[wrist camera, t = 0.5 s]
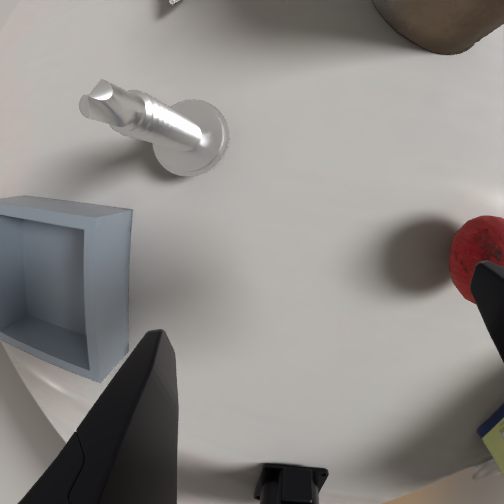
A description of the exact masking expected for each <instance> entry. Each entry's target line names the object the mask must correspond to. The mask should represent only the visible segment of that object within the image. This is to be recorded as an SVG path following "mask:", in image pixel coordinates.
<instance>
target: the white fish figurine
mask: <svg viewBox="0 0 504 504" xmlns="http://www.w3.org/2000/svg"><path fill="white" fill-rule="evenodd" d="M178 1H179V0H169V3H170V4H172V5H173V4H175V3H176V2H178Z"/></svg>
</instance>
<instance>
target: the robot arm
mask: <svg viewBox="0 0 504 504" xmlns="http://www.w3.org/2000/svg"><path fill="white" fill-rule="evenodd" d="M470 291H471V294H472V296H473V298H474V300H475V302H476V304H477V307H478V309H479V311H480V313H481V316H482V318H483V320H484V323H485V325H486V327H487V330H488V332H489V334H490V336H491V338H492V340H493V342H494V344H495V346H496V348H497V350H498V352H499V354H500V356H501V358H502V360H503V362H504V267H502V266H500V265H497V264H495V263H493V262H491V261H482V262H479V263H477V264H476V266H475V269H474V272H473V276H472V279H471V283H470ZM178 413H179V407H178V391H177V376H176V358H175V352H174V349H173V347H172V345H171V343H170V341H169V339H168V337H167V335H166V333H165V331H164V330H162V329H159V330H151V331H148V332H147V333H146V334H145V335H144V337H143V338H142V339H141V341H140V342H139V344H138V345H137V346H136V348H135V349H134V350H133V352H132V353H131V354H130V356H129V357H128V358H127V360H126V361H125V362H124V364H123V365H122V367H121V368H120V369H119V371H118V372H117V373H116V375H115V376H114V377H113V379H112V380H111V382H110V383H109V384H108V386H107V387H106V389H105V390H104V391H103V393H102V394H101V395H100V397H99V398H98V400H97V401H96V402H95V404H94V405H93V407H92V408H91V409H90V411H89V412H88V414H87V415H86V417H85V418H84V419H83V421H82V422H81V424H80V425H79V427H78V428H77V430H76V431H77V432H74V434H73V435H72V436H71V438H70V439H69V441H68V442H67V444H66V445H65V446H64V448H63V449H62V450H61V452H60V453H59V455H58V456H57V457H56V459H55V460H54V461H53V462H52V464H51V465H50V466H49V467H48V469H47V470H46V471H45V472H44V474H43V475H42V476H41V477H40V478H39V480H38V481H37V482H36V483H35V484H34V485H33V487H32V488H31V489H30V490H29V491H28V493H27V494H26V495H25V496H24V497H23V499H22V500H21V501H20V502H19V503H18V504H177V442H178ZM328 474H329V473H328V470H327V469H314V468H301V467H290V466H281V465H272V464H265V465H263V467H262V470H261V474H260V477H259V480H258V483H257V487H256V490H255V493H254V499H257V500H260V504H319V497H318V493H319V491H320V490H321V488H322V486H323V484H324V482H325V480H326V479H327V477H328Z"/></svg>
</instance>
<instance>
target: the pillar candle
mask: <svg viewBox="0 0 504 504" xmlns="http://www.w3.org/2000/svg"><path fill="white" fill-rule="evenodd" d="M373 2H374V4H375V6H376V8H377V9H378V11H379V12H380V14H381V15H382V16H383V17H384V19H385V20H386V21H387V22H388V23H389V24H390V25H391V26H392V27H393V28H394V29H395V30H397V32H399V33H400V34H402V35H403V36H404V37H405V38H407V39H409V40H410V41H412V42H414V43H416V44H417V45H419V46H421V47H423V48H425V49H427V50H429V51H432V52H435V53H439V54H444V55H454V54H455V53H456V54H460V53H463V52H465V51H467V50H468V49H470V48H471V47H472V46H473V45H474V44H475V43H476V42H478V41H480V39H482V38H483V37H484V36H487V35H488V34H489V33H491V32H493V31H494V30H495V29H497V28H498V27H500V26H501V25H503V24H504V0H373Z"/></svg>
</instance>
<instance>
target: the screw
mask: <svg viewBox="0 0 504 504" xmlns="http://www.w3.org/2000/svg"><path fill="white" fill-rule="evenodd" d="M79 109H80V112H81V113H82V115H83V116H85V117H86V118H89V119H93V120H97V121H100V122H104V123H108V124H109V125H110V127H111V128H112V129H113V130H115V131H116V132H119V133H120V134H122V135H124V136H129V137H131V138H136V139H138V140H143V141H147V142H150V143H153V150H154V153H155V156H156V158H157V159H158V161H159V163H160V164H161V165H162V166H163V167H164V168H165V169H166V170H168V171H170V172H171V173H173V174H176V175H179V176H187V177H191V176H198V175H201V174H204V173H206V172H208V171H210V170H211V169H213V168H214V167H215V166H216V165H217V164H218V163H219V162H220V161H221V160H222V158H223V157H224V155H225V153H226V150H227V148H228V144H229V128H228V124H227V121H226V120H225V118H224V116H223V114H222V113H221V112H220V111H219V110H218V109H217V108H216V107H214V106H213V105H212V104H210V103H207V102H205V101H202V100H195V99H194V100H185V101H181V102H178V103H176V104H174V105H173V106H171V107H169V106H167V105H166V104H164V103H162V102H161V101H159V100H157V99H156V98H154V97H152V96H151V95H149V94H147V93H143V92H141V91H138V90H129V91H126V90H124V89H122V88H120V87H118V86H116V85H114V84H112V83H110V82H108V81H106V80H103V79H102V80H101V81H100V82H99V83H98V84H97V85H96V87H95V88H94V89H93V90H92V92H91V93H90V94H87V95H83V96H82V97H81V99H80V102H79Z"/></svg>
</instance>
